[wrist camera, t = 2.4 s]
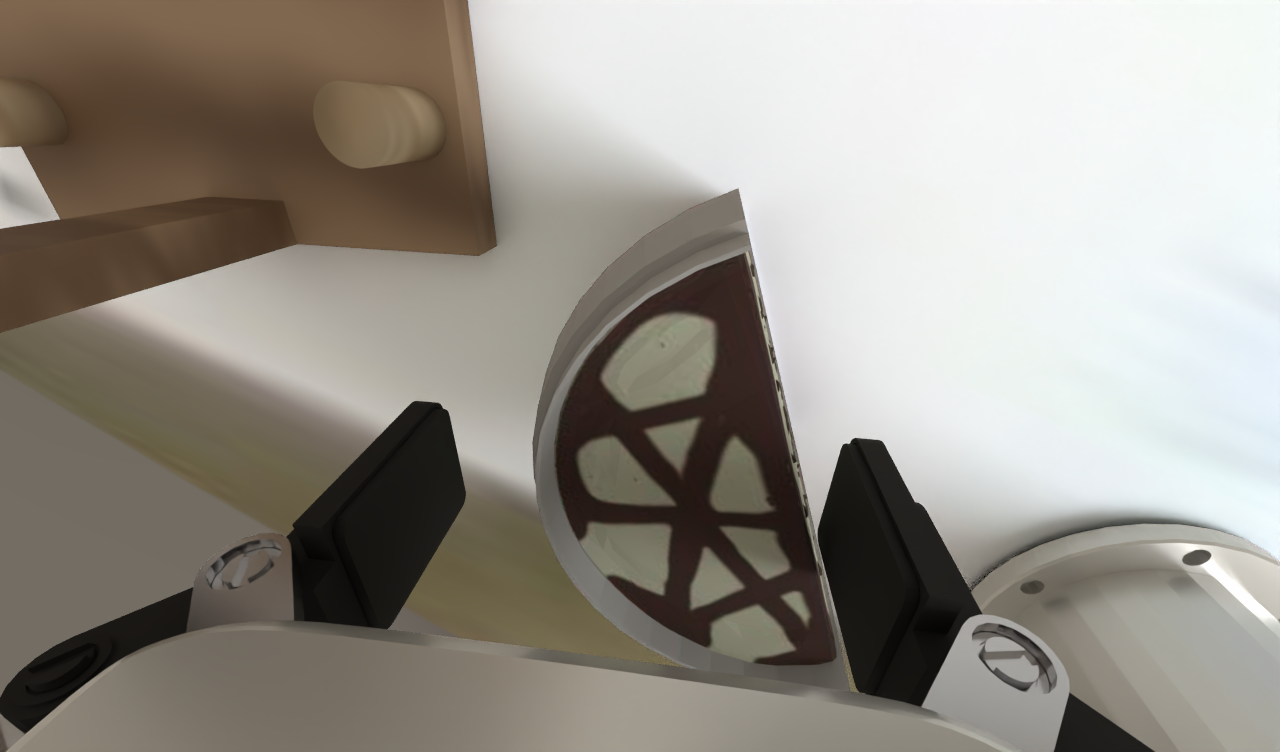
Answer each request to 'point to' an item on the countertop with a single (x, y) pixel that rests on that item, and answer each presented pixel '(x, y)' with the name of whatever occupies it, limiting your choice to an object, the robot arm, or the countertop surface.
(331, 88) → the peg stand
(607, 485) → the food container
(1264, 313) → the countertop surface
